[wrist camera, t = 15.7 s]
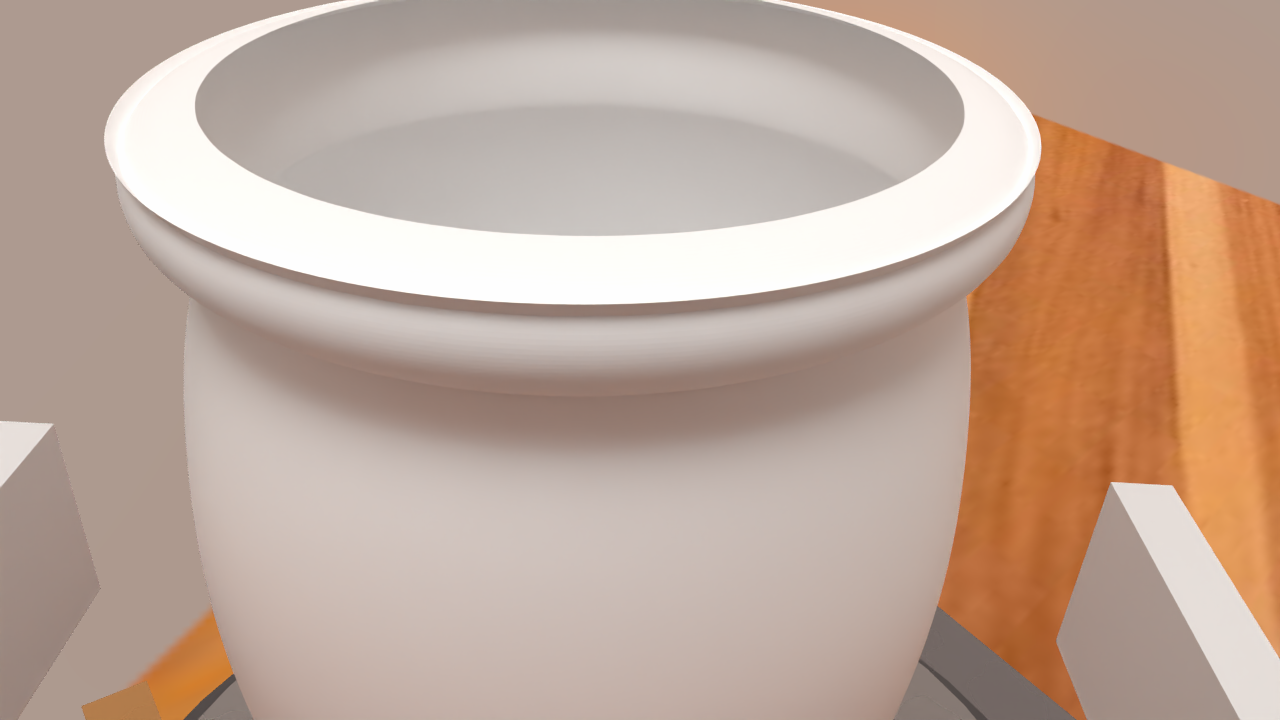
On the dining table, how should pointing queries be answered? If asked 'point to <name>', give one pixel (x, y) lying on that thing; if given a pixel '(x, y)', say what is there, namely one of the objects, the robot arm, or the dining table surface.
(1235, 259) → the dining table surface
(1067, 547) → the dining table surface
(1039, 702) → the cylinder
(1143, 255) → the dining table surface
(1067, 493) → the dining table surface
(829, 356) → the jar
